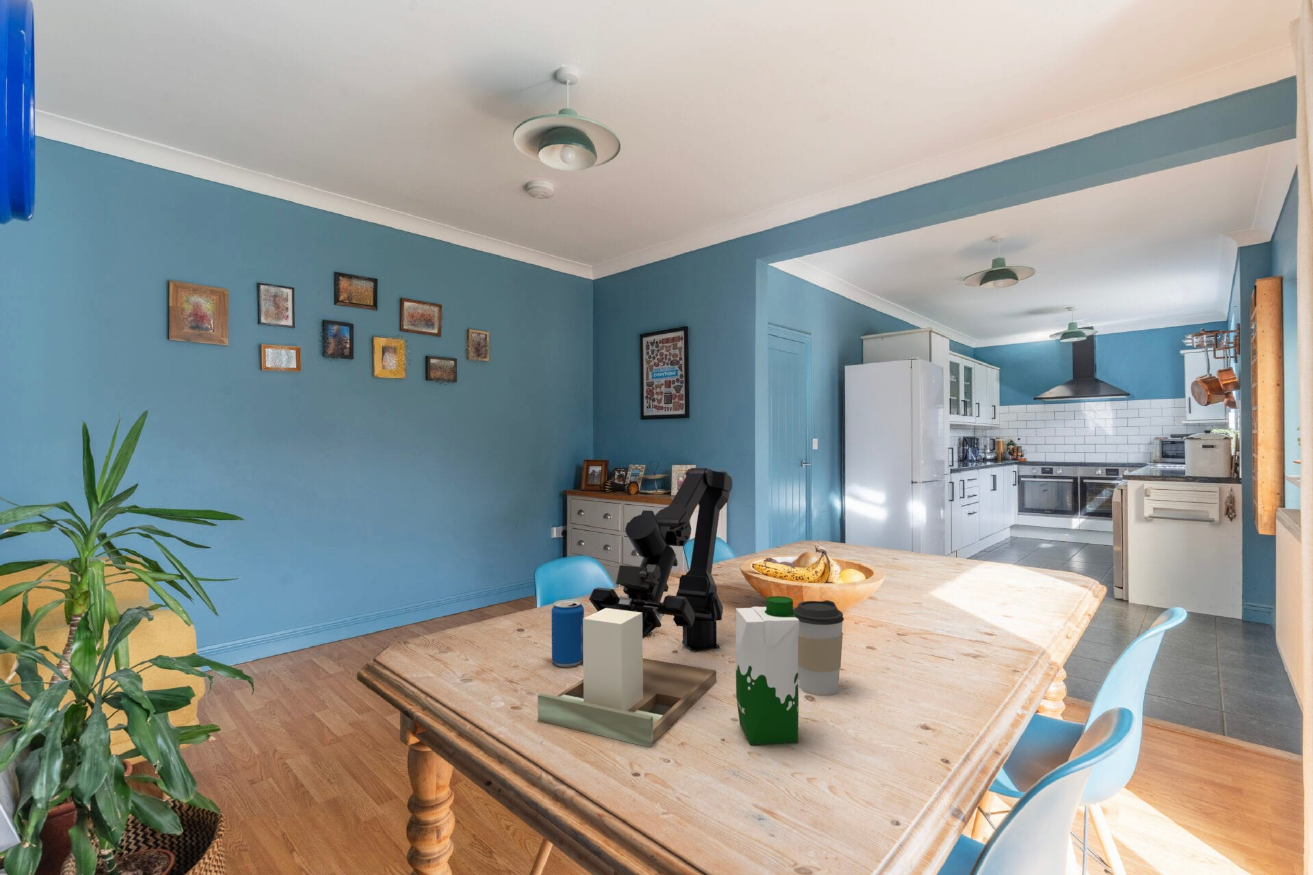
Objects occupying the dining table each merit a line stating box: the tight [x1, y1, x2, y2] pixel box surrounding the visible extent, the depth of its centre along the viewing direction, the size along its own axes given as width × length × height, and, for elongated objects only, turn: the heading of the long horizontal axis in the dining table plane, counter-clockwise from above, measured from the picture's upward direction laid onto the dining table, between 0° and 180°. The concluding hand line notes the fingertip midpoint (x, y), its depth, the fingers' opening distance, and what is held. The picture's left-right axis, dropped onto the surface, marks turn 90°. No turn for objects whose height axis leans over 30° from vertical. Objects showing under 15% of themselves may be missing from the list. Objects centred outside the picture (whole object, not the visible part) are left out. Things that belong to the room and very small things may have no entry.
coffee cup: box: [793, 599, 845, 696], centre depth 107 cm, size 9×9×15 cm
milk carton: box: [735, 595, 800, 746], centre depth 90 cm, size 9×9×20 cm
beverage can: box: [551, 598, 585, 668], centre depth 121 cm, size 6×6×12 cm
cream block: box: [582, 608, 644, 711], centre depth 97 cm, size 7×7×14 cm
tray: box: [537, 657, 717, 748], centre depth 103 cm, size 27×20×4 cm
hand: (625, 651), depth 100 cm, fingers closed
